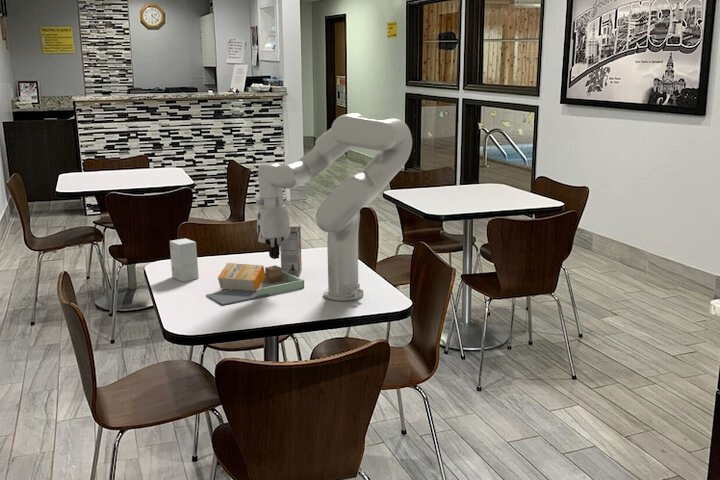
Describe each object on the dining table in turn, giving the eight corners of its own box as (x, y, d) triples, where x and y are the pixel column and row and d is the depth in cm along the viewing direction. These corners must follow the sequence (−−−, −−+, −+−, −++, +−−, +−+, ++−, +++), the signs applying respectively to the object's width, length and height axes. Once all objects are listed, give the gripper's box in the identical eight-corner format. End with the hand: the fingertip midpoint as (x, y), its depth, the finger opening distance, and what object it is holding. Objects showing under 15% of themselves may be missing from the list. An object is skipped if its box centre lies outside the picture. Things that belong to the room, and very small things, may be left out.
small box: (199, 278, 246) (196, 241, 243) (182, 282, 242) (179, 244, 239) (188, 273, 252) (186, 237, 249) (171, 277, 248) (168, 240, 245)
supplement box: (254, 280, 226) (216, 277, 230) (257, 291, 229) (220, 289, 232) (263, 264, 233) (226, 262, 236) (266, 275, 235) (229, 273, 239)
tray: (304, 287, 234) (303, 280, 234) (257, 297, 225) (257, 289, 224) (281, 277, 246) (280, 270, 246) (235, 286, 237) (235, 278, 236)
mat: (269, 295, 226) (268, 294, 226) (222, 305, 217) (222, 304, 217) (251, 287, 235) (251, 285, 235) (206, 296, 226) (206, 294, 226)
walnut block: (281, 282, 241) (281, 267, 240) (271, 284, 239) (270, 269, 238) (276, 279, 244) (275, 265, 243) (265, 281, 242) (265, 267, 241)
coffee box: (284, 270, 256) (282, 226, 252) (302, 269, 255) (300, 226, 252) (281, 277, 247) (279, 231, 243) (299, 277, 246) (298, 231, 243)
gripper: (256, 206, 220) (259, 264, 224) (297, 200, 229) (300, 256, 233) (245, 203, 226) (248, 259, 230) (285, 198, 234) (288, 252, 239)
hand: (274, 257), depth 231 cm, fingers closed
